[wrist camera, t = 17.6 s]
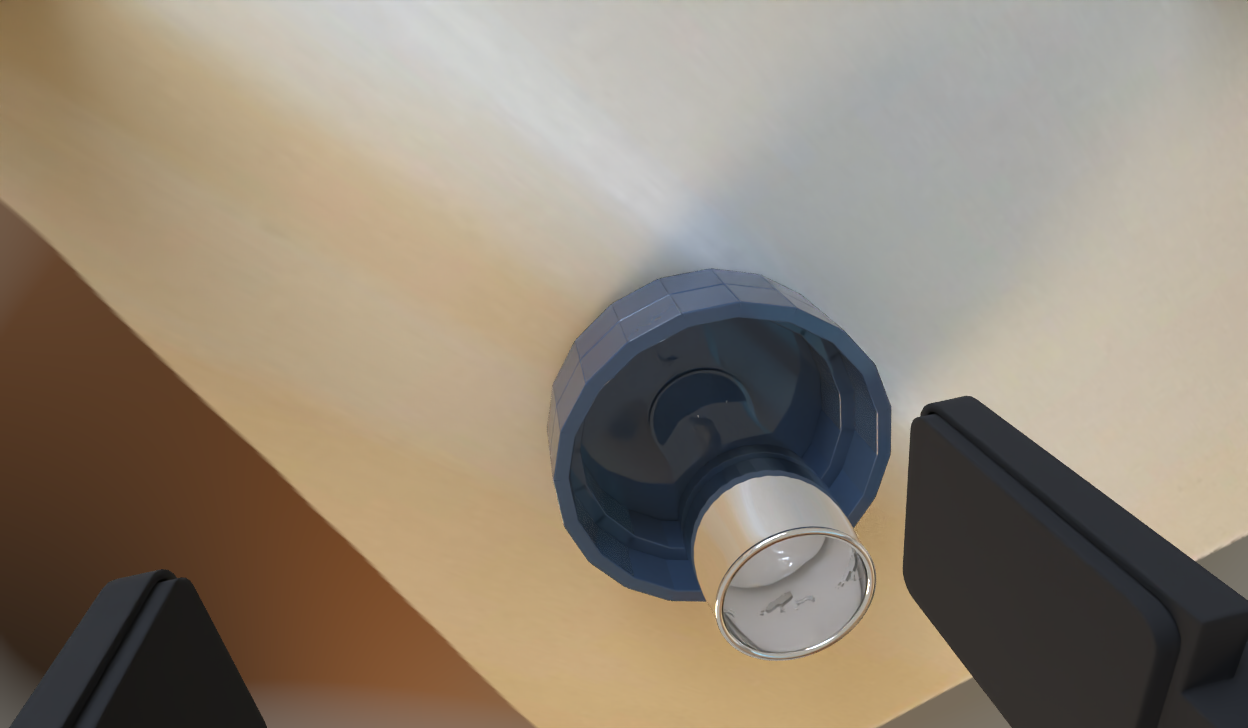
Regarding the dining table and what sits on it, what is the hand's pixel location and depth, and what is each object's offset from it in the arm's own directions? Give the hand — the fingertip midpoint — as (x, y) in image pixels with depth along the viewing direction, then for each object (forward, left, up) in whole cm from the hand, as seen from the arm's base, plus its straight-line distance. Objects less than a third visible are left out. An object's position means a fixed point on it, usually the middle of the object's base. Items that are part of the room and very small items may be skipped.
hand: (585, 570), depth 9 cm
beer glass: (+7, -15, -28) cm, 33 cm away
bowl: (+7, -15, -29) cm, 33 cm away
